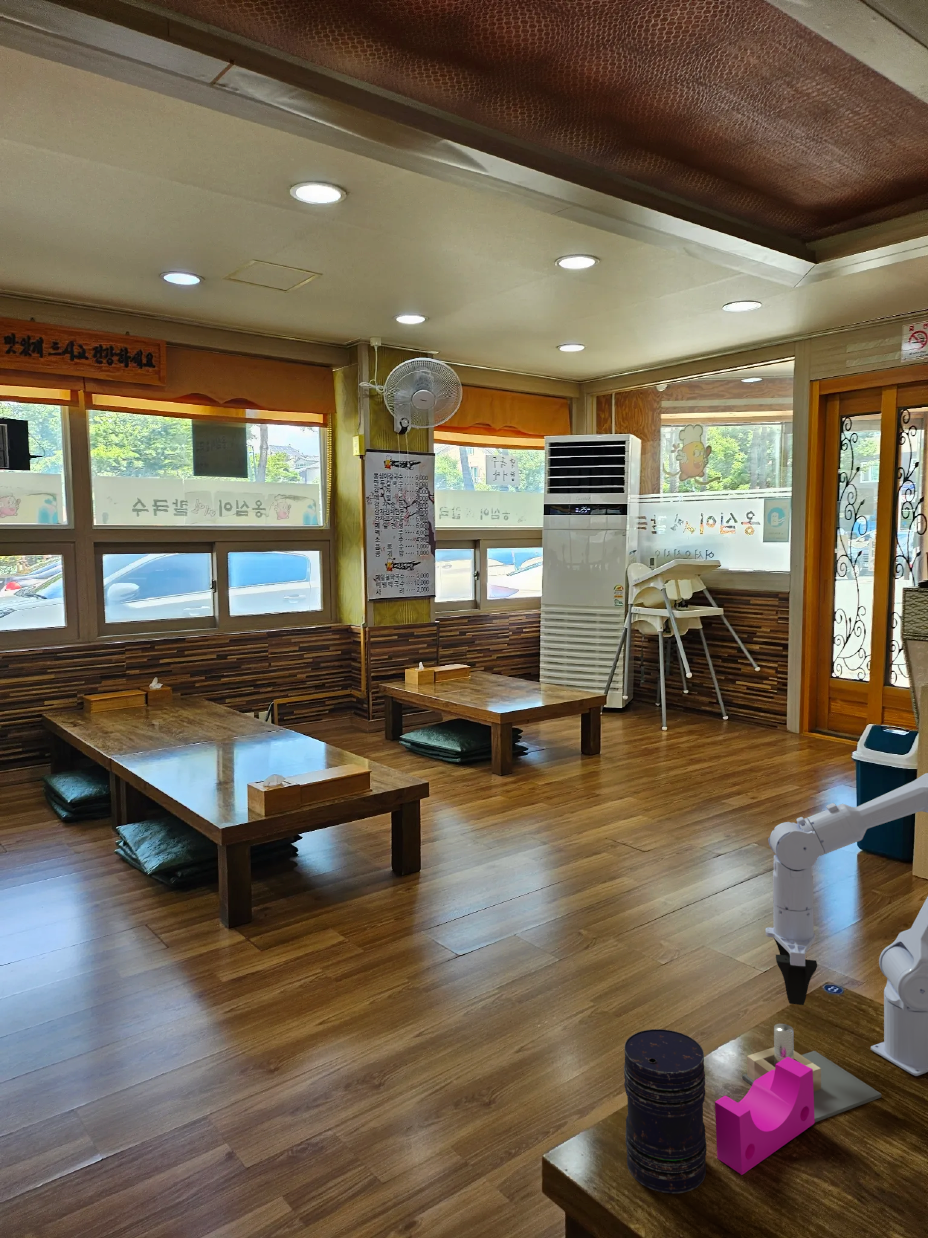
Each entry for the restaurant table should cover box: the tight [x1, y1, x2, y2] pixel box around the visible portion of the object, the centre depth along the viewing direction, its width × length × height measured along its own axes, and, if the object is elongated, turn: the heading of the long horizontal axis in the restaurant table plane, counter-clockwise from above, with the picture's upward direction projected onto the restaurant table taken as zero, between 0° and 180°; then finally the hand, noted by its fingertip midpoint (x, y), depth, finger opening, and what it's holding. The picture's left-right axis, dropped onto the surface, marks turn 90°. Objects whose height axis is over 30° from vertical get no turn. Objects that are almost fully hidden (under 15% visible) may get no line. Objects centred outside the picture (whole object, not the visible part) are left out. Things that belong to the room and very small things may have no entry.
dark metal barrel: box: [623, 1028, 707, 1194], centre depth 107 cm, size 10×10×15 cm
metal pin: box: [773, 1023, 795, 1067], centre depth 122 cm, size 3×3×8 cm
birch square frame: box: [746, 1046, 821, 1092], centre depth 123 cm, size 7×7×3 cm
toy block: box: [714, 1057, 816, 1176], centre depth 112 cm, size 15×6×8 cm, turn 125°
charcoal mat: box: [741, 1050, 882, 1123], centre depth 122 cm, size 14×12×1 cm
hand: (794, 991), depth 131 cm, fingers open, 7 cm apart
